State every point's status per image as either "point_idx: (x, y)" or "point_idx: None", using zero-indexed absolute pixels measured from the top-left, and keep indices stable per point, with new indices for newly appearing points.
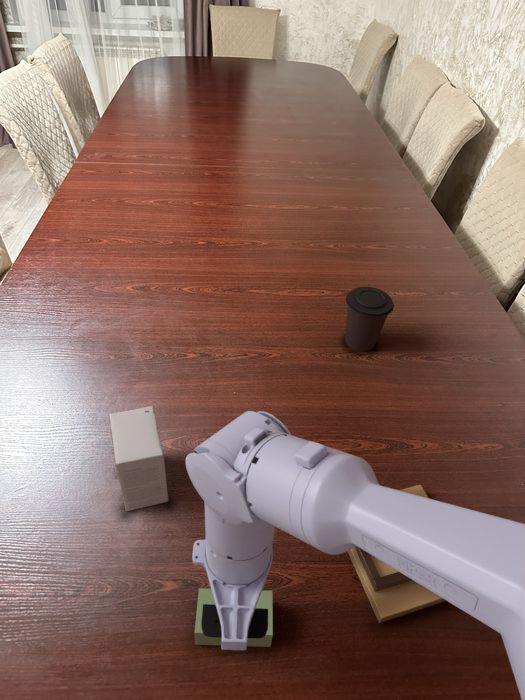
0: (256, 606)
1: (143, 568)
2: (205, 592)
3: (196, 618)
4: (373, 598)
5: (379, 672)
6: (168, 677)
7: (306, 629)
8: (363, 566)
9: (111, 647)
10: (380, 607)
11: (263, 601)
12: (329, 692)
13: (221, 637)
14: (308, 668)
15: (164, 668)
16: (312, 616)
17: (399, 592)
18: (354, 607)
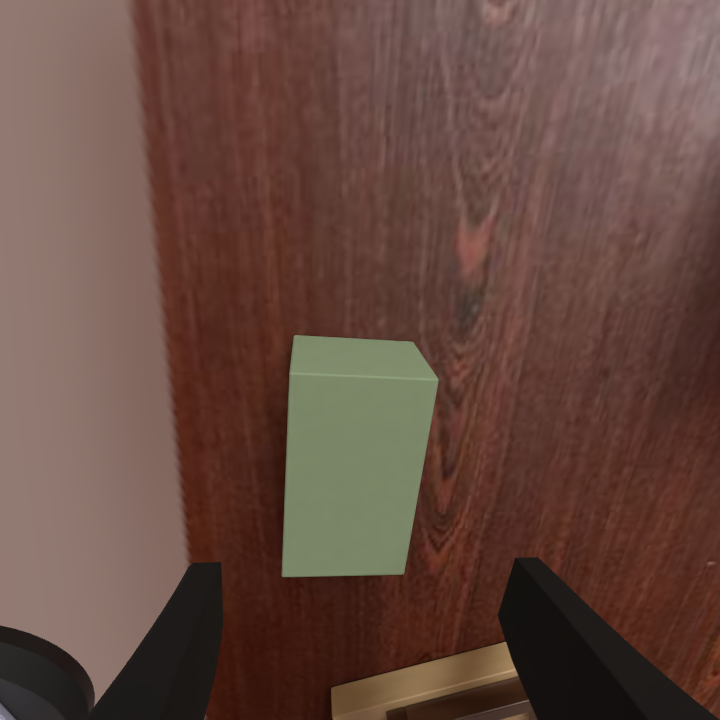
0: (362, 540)
1: (544, 150)
2: (421, 400)
3: (336, 376)
4: (373, 707)
5: (239, 682)
6: (203, 260)
7: None
8: (442, 699)
9: (288, 45)
10: (353, 716)
11: (376, 554)
12: None
13: (168, 603)
14: (242, 577)
15: (227, 246)
16: (351, 586)
17: None
18: (364, 652)
